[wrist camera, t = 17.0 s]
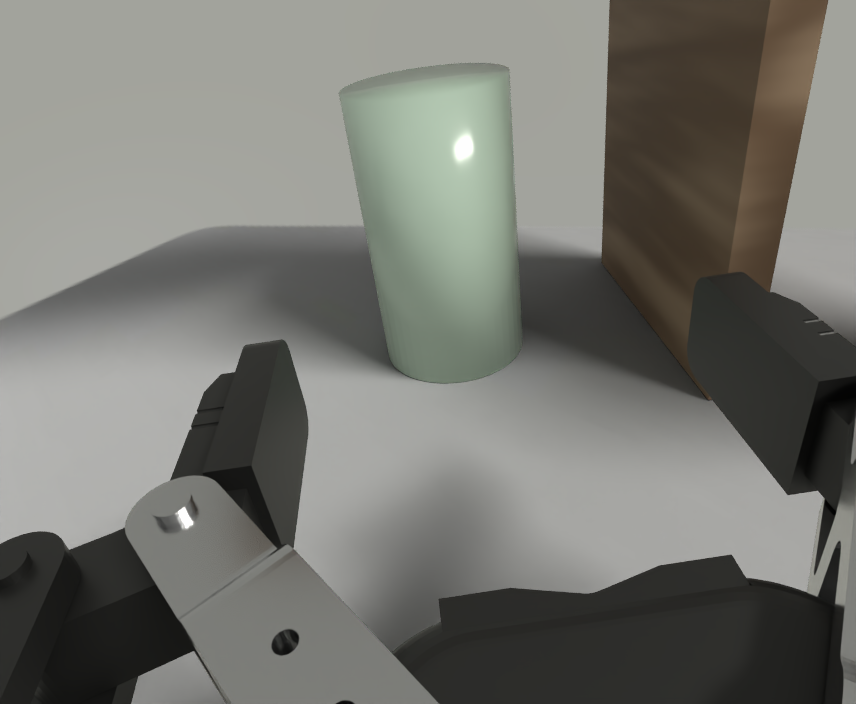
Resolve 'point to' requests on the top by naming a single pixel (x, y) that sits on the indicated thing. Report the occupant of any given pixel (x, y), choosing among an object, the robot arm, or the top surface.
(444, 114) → the pillar candle
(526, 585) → the top surface
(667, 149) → the overhanging shelf
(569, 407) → the top surface
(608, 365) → the top surface
